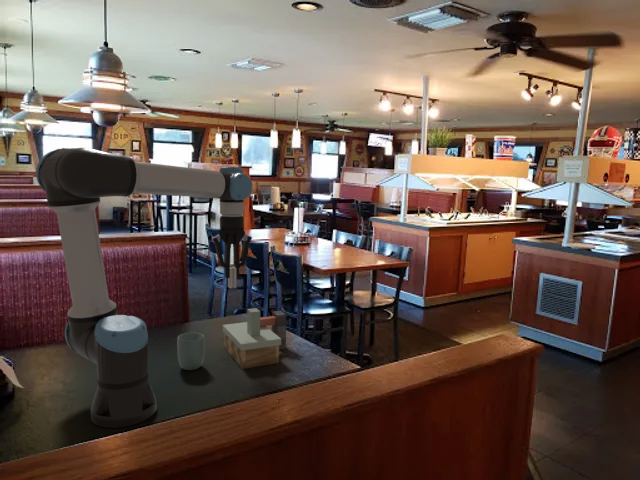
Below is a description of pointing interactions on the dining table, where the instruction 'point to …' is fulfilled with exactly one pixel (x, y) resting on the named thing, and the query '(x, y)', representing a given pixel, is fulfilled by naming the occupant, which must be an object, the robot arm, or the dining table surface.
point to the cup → (190, 350)
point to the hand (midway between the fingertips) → (232, 287)
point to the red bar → (268, 321)
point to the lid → (251, 333)
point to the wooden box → (260, 354)
